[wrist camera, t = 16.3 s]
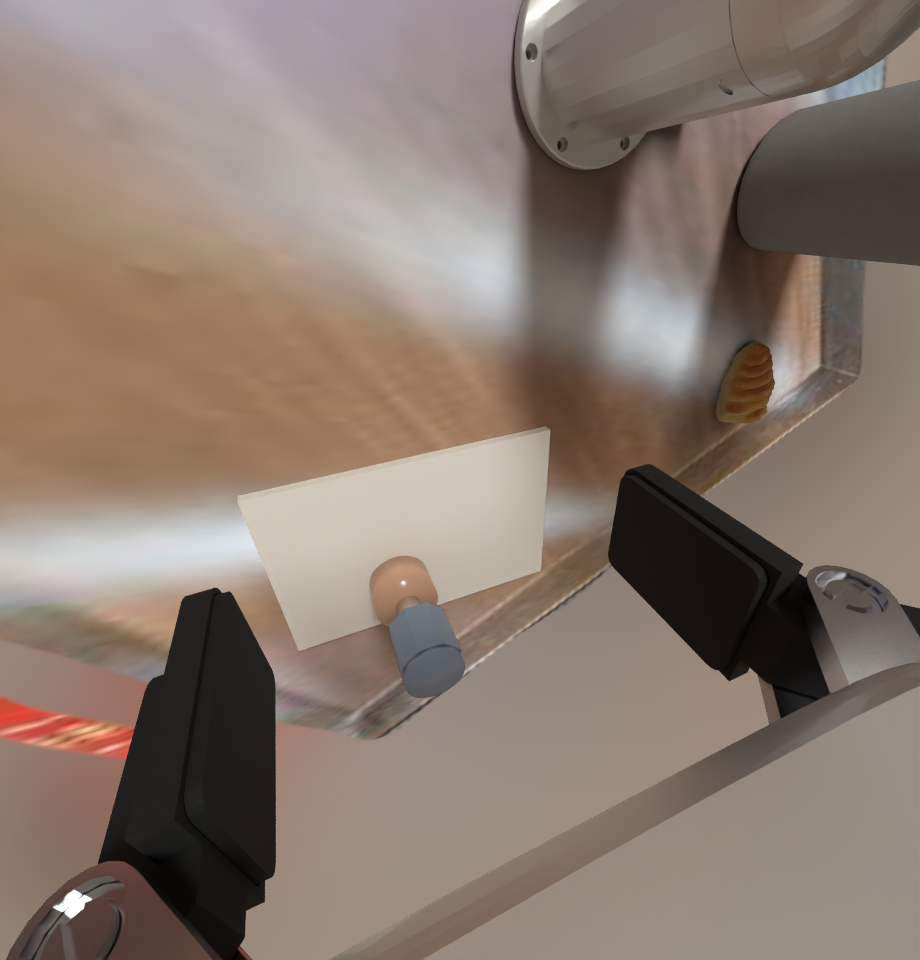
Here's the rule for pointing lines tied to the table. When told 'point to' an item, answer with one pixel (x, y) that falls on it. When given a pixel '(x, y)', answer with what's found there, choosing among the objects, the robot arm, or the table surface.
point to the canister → (839, 180)
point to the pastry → (746, 385)
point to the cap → (426, 650)
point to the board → (401, 529)
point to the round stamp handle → (400, 587)
